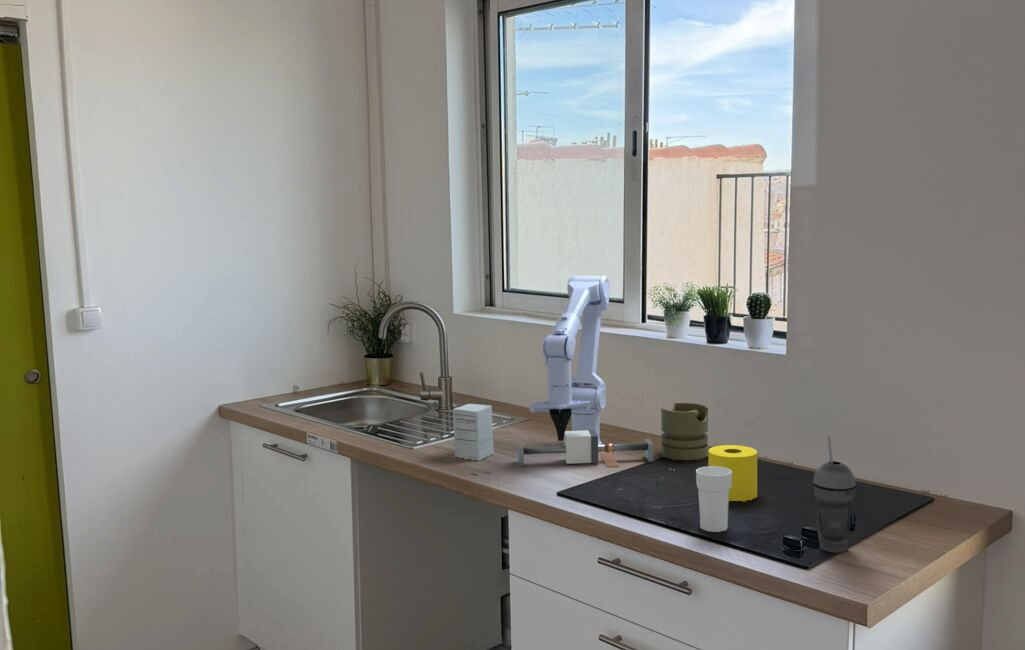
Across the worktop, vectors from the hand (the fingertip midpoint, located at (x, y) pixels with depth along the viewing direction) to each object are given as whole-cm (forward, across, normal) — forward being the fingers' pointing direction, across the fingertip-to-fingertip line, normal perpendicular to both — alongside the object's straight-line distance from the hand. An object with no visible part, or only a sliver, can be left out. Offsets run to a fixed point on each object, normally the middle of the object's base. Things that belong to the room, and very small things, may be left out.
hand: (560, 439), depth 225 cm
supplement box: (+6, -21, +9) cm, 24 cm away
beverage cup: (+6, +43, -63) cm, 76 cm away
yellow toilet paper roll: (+6, +34, -30) cm, 46 cm away
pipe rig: (+6, +6, 0) cm, 8 cm away
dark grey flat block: (+6, +8, 0) cm, 10 cm away
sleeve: (+6, +4, 0) cm, 7 cm away
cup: (+6, +25, -50) cm, 56 cm away
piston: (+6, +31, +3) cm, 32 cm away
